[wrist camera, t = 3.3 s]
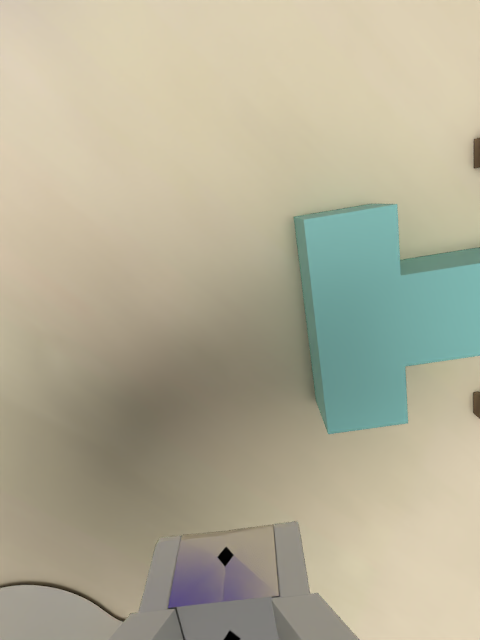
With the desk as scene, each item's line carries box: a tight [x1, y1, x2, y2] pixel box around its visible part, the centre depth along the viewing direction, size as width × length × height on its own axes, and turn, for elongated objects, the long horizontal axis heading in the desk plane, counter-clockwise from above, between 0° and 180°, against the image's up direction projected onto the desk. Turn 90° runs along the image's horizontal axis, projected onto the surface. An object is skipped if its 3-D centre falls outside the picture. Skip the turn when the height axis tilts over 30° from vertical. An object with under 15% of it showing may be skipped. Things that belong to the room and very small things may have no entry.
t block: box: [294, 204, 480, 434], centre depth 23 cm, size 12×14×4 cm
